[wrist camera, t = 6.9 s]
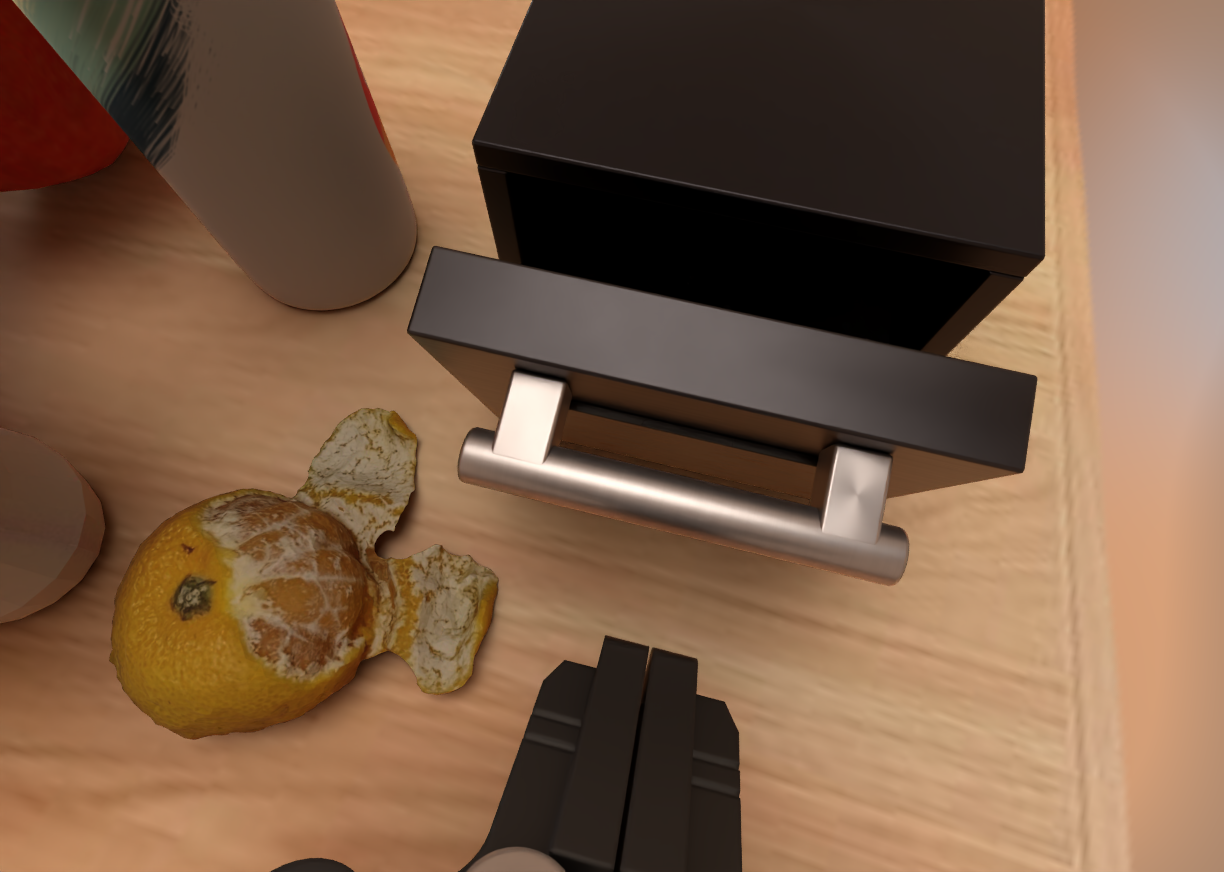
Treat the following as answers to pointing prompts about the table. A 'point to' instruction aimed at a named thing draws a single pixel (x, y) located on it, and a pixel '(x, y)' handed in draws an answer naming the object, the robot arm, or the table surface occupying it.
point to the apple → (47, 113)
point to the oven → (778, 156)
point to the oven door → (711, 412)
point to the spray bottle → (252, 132)
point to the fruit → (294, 594)
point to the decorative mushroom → (42, 526)
